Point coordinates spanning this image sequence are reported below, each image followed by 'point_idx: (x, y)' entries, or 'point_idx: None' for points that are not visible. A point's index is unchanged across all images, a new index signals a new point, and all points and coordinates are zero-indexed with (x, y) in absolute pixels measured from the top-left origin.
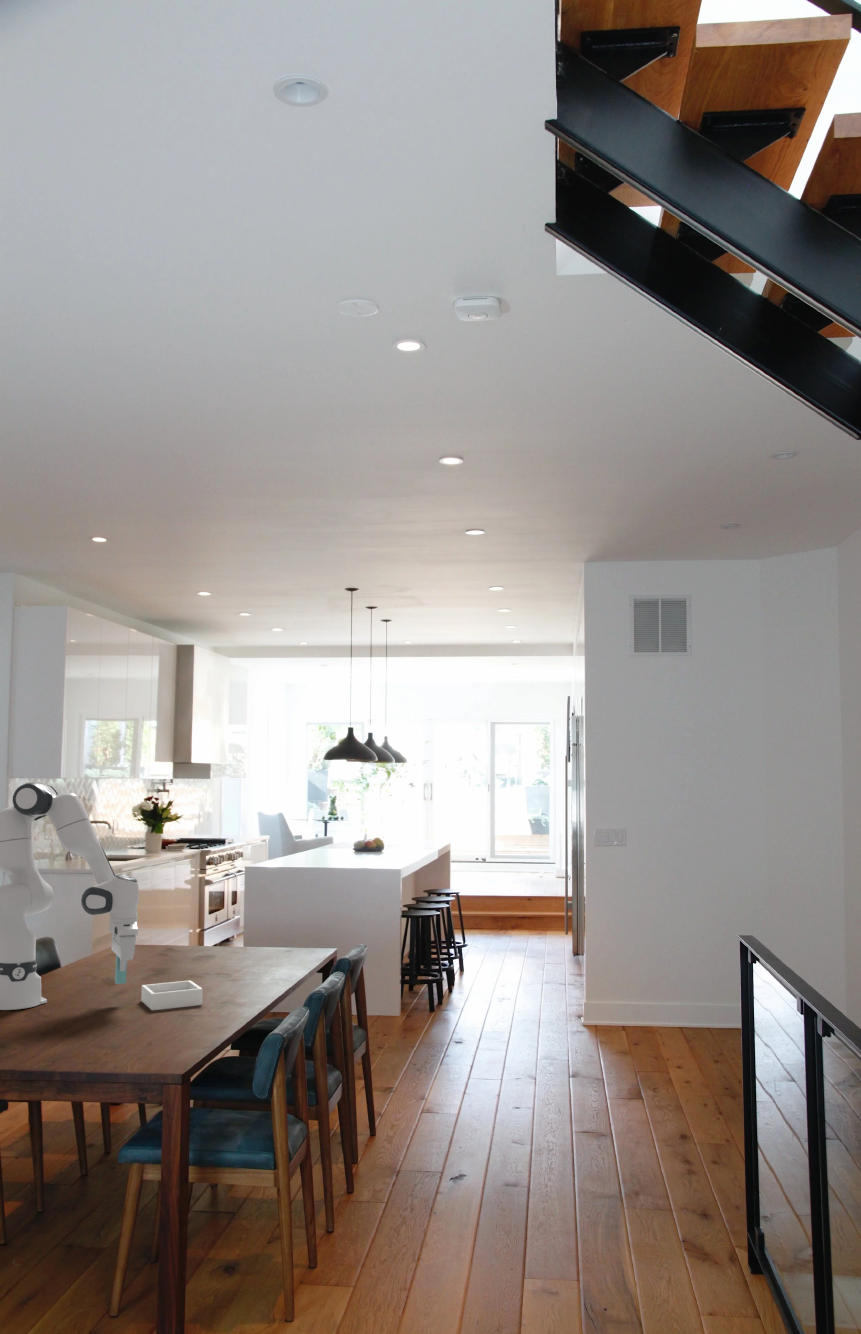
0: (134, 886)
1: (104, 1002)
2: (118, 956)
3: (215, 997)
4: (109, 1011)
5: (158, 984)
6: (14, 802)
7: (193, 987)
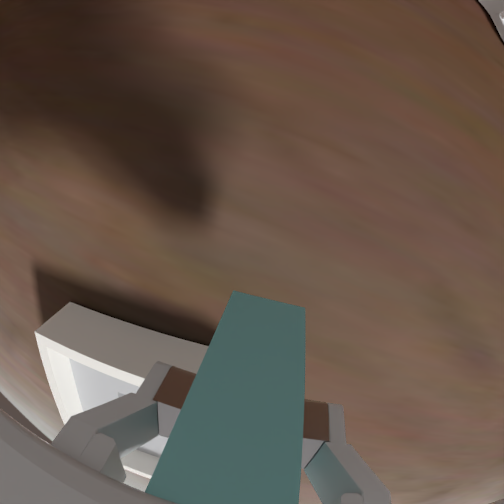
0: None
1: (373, 231)
2: (31, 442)
3: None
4: (146, 168)
5: None
6: None
7: (140, 465)
